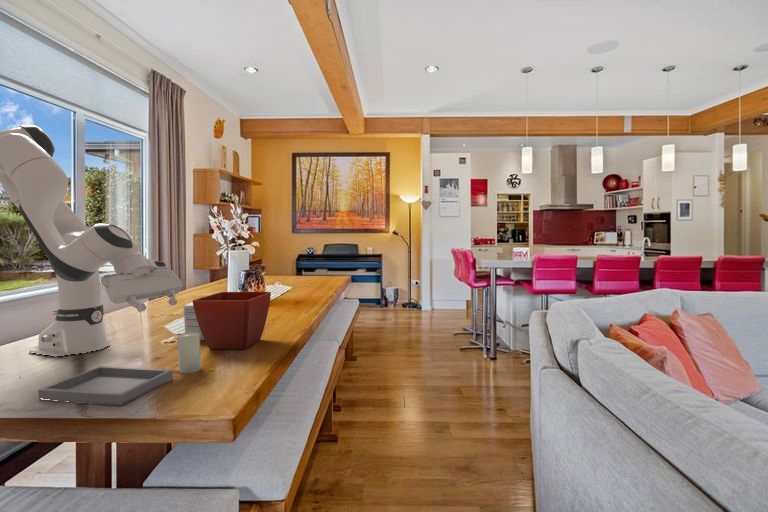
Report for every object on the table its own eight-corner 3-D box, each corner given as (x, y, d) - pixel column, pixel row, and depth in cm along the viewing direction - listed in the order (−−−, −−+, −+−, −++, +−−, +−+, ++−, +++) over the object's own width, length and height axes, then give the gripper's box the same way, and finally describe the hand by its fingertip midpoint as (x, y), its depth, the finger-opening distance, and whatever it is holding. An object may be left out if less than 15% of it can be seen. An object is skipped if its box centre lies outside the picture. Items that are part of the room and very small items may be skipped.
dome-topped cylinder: (174, 373, 107) (172, 337, 106) (187, 366, 112) (186, 331, 112) (192, 374, 106) (191, 337, 105) (205, 367, 111) (203, 332, 111)
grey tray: (39, 400, 90) (38, 389, 90) (100, 375, 106) (99, 365, 106) (121, 406, 87) (121, 395, 86) (172, 379, 102) (172, 370, 102)
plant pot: (223, 336, 144) (221, 291, 143) (273, 337, 142) (272, 291, 141) (192, 352, 126) (190, 300, 124) (249, 353, 123) (247, 300, 122)
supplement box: (192, 335, 146) (191, 301, 146) (213, 334, 147) (212, 301, 146) (184, 340, 139) (183, 305, 138) (206, 340, 140) (204, 305, 139)
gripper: (102, 268, 106) (126, 306, 102) (171, 262, 124) (194, 294, 120) (93, 283, 108) (117, 321, 104) (163, 275, 126) (185, 307, 123)
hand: (159, 307), depth 112 cm, fingers open, 8 cm apart
